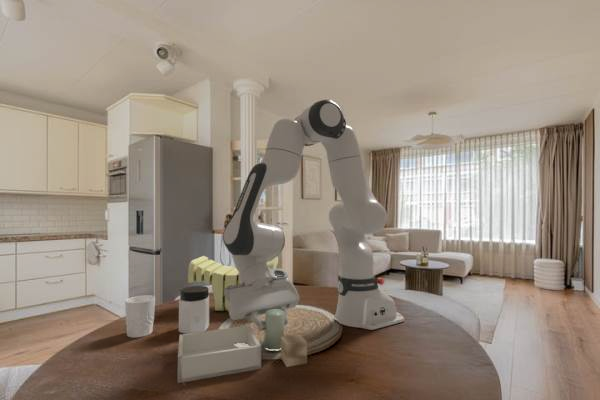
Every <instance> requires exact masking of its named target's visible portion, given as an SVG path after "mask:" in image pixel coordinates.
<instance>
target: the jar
mask: <svg viewBox="0 0 600 400" xmlns="http://www.w3.org/2000/svg"><path fill="white" fill-rule="evenodd" d="M179 291H180V294H179V295H180V297H179V299H178V333H180V334H187V333H195V332H203V331H207V330H208V328H209V326H210V295H209V287H207V286H203V285H195V286H194V285H192V286H187V287H183V288H182V289H180V290H179Z"/></svg>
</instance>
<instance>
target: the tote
mask: <svg viewBox="0 0 600 400" xmlns="http://www.w3.org/2000/svg"><path fill="white" fill-rule="evenodd" d="M251 326H252V325H244V326H243V325H241V326H237V327H229V328H228V327H227V328H220V329H213V330H212V329H211V330H206V331H203V332H195V333H187V334H185V333H180V334H179V335H178V336H179V337H178V338H179V340H178V352H177V384H182V383H187V382H188V383H189V382H193V381H199V380H203V379H204V380H205V379H210V378H215V377H220V376H228V375H234V374H238V373H244V372H249V371H256V370H261V369H262V345H261V343H260V341H259V340H258V337H257V336H256V334H255V332H254V331H253V328H252V327H251ZM237 343H245V344H248V345H249V347H242V348H238V347H236V346H234V344H237Z"/></svg>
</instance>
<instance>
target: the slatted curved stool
mask: <svg viewBox="0 0 600 400" xmlns="http://www.w3.org/2000/svg"><path fill="white" fill-rule="evenodd" d="M278 264H279V255H277V256H276V257H275V258H274V259H272V260H271V261H269V262H267V266H268V268H272V269H276V270H277V266H278ZM187 280H188V281H187V284H188V285H189V284H191V283H202V282H203V283H204V284H206V285H208V286H211V291H212V294H213V296H214V297H213V298H214V312H215V311H218V312H220V311H221V312H224V311H227V312H229V310H228V302H227V300H226V299H225V296H224V290H225V288H227V287H228V286H230V285H237V284H241V282H240V279H239V272H238V270H237V269H236V267H234V266H230V265H225V264H224V265H223V264H222V263H220V262H216V261H215V260H213V259H209V257H208V256H205V255H202V256H200V257H197V258H195V259H192V260H190V263H189V264H188V269H187Z"/></svg>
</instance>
